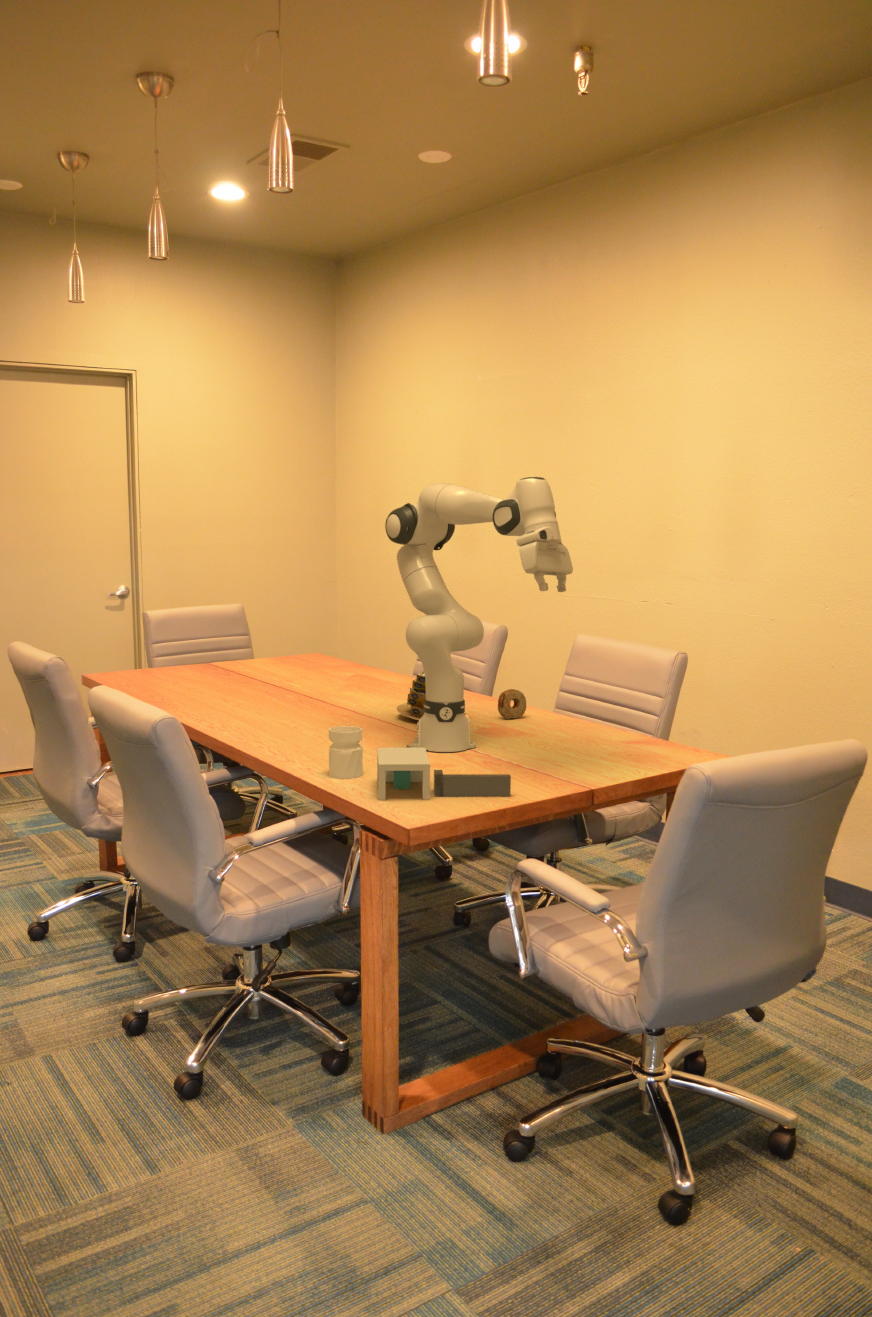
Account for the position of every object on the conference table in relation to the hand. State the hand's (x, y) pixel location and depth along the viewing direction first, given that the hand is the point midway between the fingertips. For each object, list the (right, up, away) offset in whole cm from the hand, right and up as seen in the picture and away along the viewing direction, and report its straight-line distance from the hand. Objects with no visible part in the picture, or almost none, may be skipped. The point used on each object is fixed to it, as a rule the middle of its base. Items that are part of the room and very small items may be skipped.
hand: (553, 591), depth 250 cm
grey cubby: (-38, -49, -9) cm, 63 cm away
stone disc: (-4, -38, +85) cm, 93 cm away
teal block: (-38, -49, -6) cm, 62 cm away
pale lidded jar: (-53, -47, +5) cm, 71 cm away
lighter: (-39, -48, +4) cm, 62 cm away
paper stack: (-31, -38, +84) cm, 97 cm away
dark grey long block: (-21, -50, -11) cm, 55 cm away
